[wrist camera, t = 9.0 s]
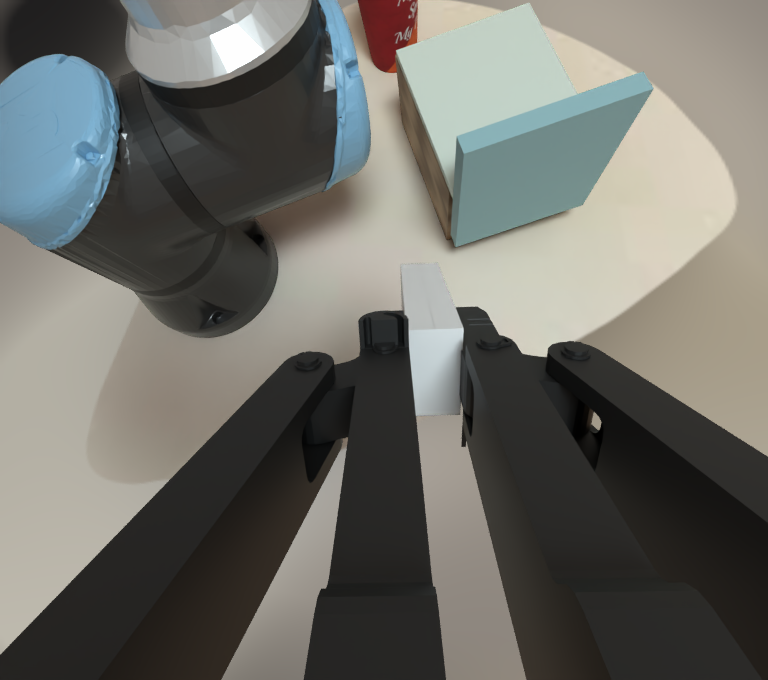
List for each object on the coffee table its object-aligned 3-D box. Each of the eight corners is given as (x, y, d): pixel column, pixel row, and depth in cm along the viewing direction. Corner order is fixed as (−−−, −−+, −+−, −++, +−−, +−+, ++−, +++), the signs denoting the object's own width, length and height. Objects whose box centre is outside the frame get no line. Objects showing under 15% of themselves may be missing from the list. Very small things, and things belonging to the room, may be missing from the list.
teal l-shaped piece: (582, 204, 41) (653, 88, 28) (455, 247, 42) (464, 153, 28) (515, 68, 46) (548, -89, 32) (402, 108, 46) (387, -29, 33)
